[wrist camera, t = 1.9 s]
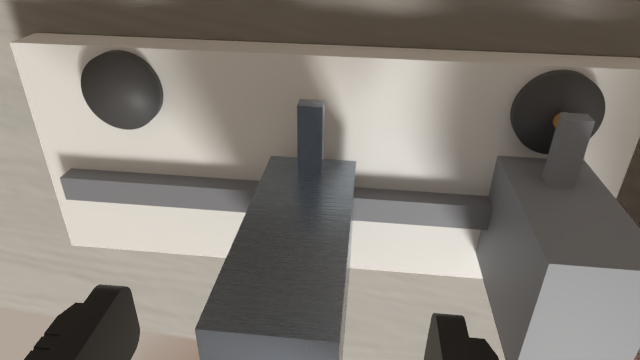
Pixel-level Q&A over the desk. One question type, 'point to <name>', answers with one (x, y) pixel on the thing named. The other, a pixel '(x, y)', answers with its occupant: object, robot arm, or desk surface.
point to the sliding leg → (287, 259)
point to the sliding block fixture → (365, 163)
